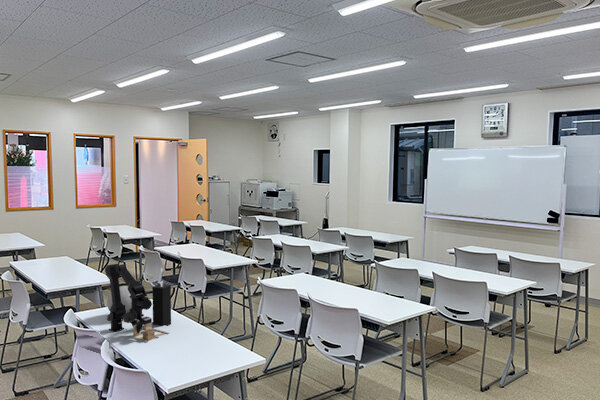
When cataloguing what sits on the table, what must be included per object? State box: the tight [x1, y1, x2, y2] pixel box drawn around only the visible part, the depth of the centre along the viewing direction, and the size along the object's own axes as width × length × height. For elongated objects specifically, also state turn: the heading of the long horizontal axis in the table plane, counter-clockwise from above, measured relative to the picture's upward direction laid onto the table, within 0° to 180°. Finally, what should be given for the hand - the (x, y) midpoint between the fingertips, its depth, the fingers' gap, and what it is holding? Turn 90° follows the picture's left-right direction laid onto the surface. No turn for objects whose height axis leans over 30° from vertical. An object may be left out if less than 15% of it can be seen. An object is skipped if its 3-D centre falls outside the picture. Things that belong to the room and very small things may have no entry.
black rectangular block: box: [151, 280, 172, 327], centre depth 279 cm, size 8×8×28 cm
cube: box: [142, 329, 156, 342], centre depth 254 cm, size 4×4×4 cm
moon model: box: [106, 285, 140, 313], centre depth 296 cm, size 20×20×20 cm
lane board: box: [128, 327, 170, 343], centre depth 260 cm, size 15×16×2 cm
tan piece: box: [132, 325, 156, 342], centre depth 256 cm, size 13×5×7 cm, turn 58°
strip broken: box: [143, 322, 166, 338], centre depth 263 cm, size 13×5×7 cm, turn 58°
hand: (137, 333), depth 259 cm, fingers closed on tan piece, 2 cm apart
